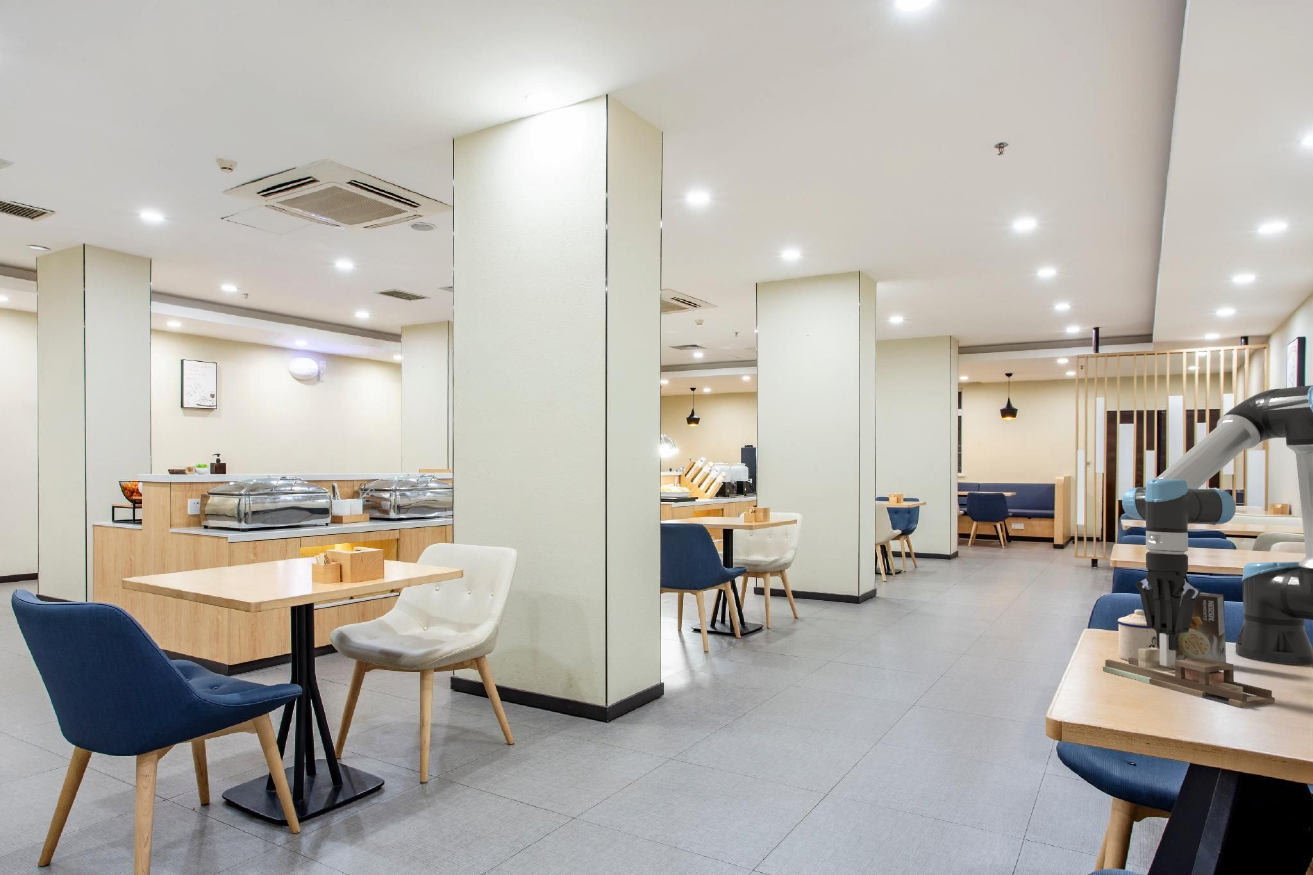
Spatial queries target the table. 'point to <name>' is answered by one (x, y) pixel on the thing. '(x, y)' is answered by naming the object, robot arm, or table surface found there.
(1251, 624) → the robot arm
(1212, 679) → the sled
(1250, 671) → the table surface
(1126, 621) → the teacup with lid
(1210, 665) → the tunnel board
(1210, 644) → the coffee box
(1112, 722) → the table surface
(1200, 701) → the table surface
